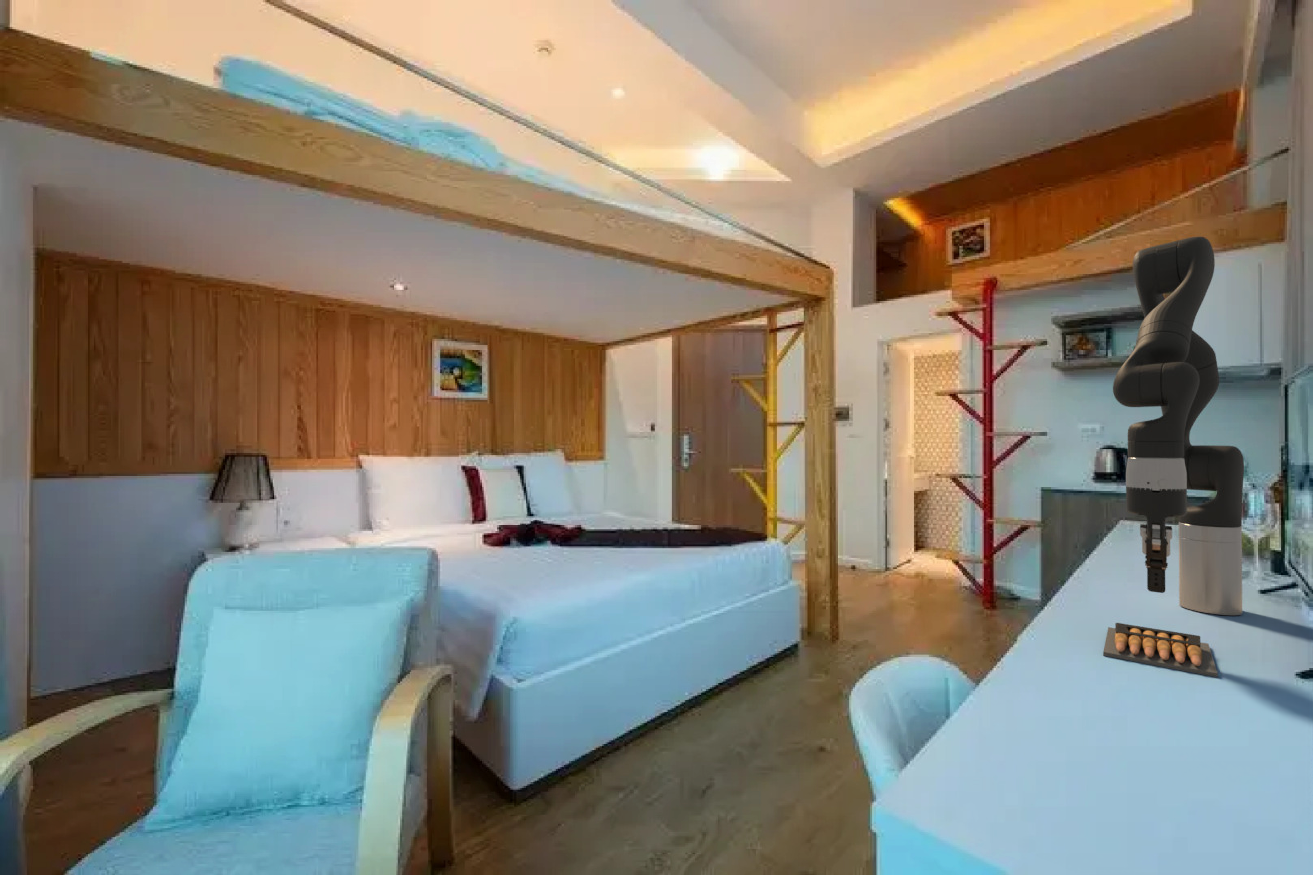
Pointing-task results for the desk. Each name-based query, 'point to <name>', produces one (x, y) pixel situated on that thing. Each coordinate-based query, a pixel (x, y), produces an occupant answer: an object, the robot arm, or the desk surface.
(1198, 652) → the ammunition clip
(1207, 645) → the mat
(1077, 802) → the desk surface
